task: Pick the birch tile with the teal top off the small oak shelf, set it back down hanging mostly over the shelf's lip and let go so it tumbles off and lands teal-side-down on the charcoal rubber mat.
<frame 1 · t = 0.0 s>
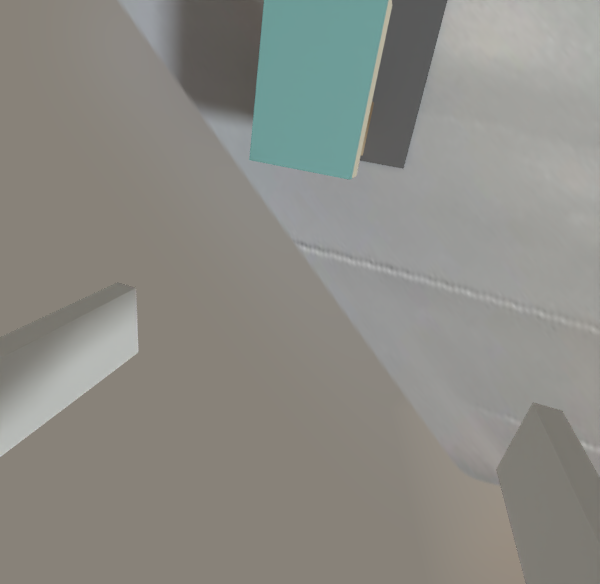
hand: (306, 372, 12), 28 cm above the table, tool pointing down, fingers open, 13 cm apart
two-tone tile: (321, 90, 25), point 10 cm above the table, touching oak shelf
mat: (365, 7, 31), on the table
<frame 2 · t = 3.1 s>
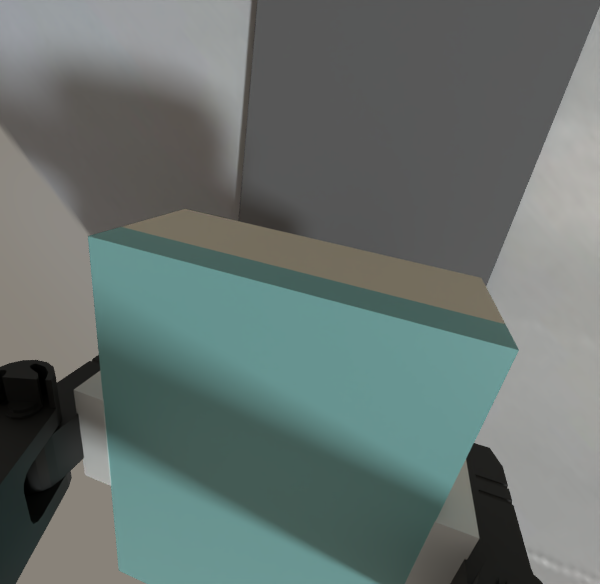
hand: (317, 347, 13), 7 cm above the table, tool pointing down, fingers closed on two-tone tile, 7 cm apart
two-tone tile: (289, 407, 10), point 11 cm above the table, touching gripper, oak shelf
mat: (382, 134, 17), on the table
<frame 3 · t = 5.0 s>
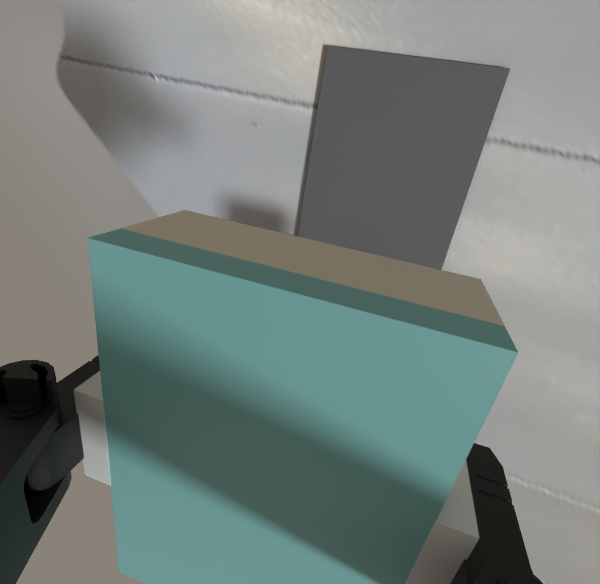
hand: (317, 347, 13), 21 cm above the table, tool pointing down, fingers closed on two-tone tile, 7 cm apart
two-tone tile: (289, 408, 10), point 24 cm above the table, touching gripper
mat: (374, 218, 31), on the table
when the fingers open (9 cm above the table, at t = 7.1 s): two-tone tile drops 9 cm and tips over, resting on mat.
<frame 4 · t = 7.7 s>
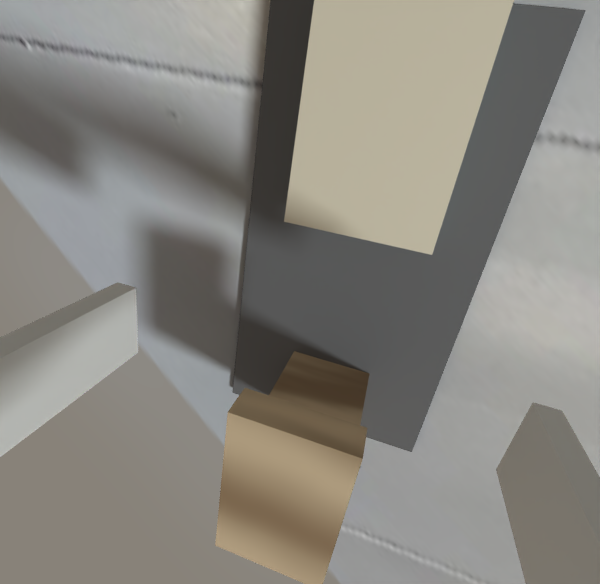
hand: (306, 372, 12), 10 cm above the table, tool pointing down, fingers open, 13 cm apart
two-tone tile: (381, 119, 15), point 3 cm above the table, tilted 180°, touching mat
mat: (355, 258, 21), on the table
oak shelf: (329, 371, 24), resting on mat
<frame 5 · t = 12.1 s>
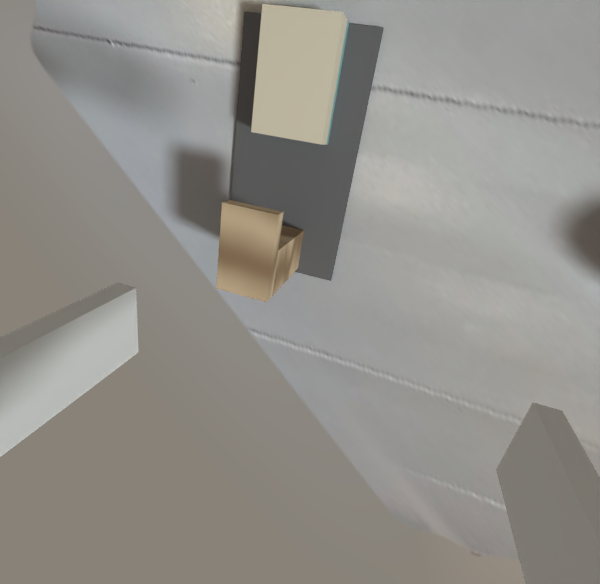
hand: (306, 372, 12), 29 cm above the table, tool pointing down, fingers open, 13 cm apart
two-tone tile: (293, 77, 32), point 3 cm above the table, tilted 180°, touching mat
mat: (292, 159, 38), on the table
oak shelf: (282, 233, 41), resting on mat
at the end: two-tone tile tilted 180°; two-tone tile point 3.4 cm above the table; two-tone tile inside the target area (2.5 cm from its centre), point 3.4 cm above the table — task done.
